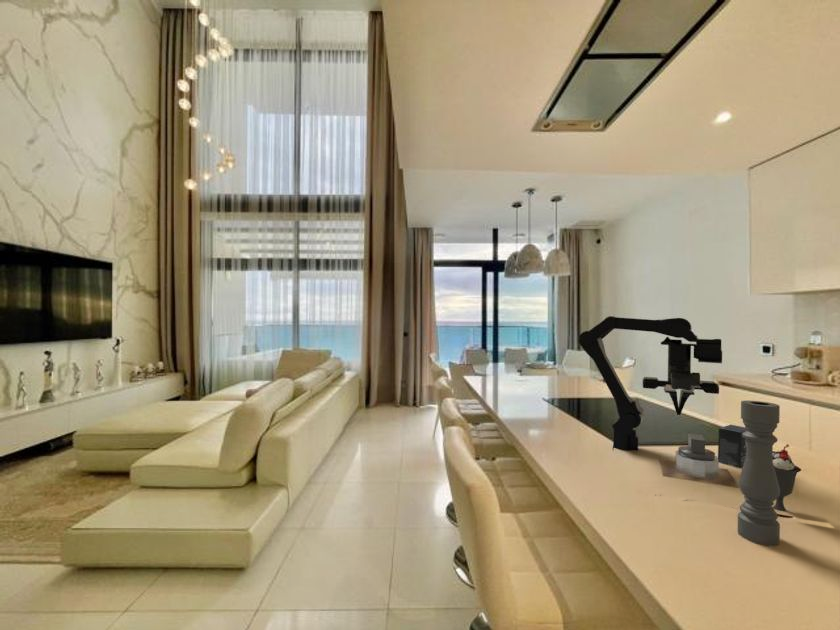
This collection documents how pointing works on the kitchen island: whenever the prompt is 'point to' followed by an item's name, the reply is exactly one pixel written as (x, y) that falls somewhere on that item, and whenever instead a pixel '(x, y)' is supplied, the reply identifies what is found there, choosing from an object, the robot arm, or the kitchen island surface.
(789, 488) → the sundae
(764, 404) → the candle holder
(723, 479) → the stand
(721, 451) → the box
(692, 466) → the toothed hollow cylinder
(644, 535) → the kitchen island surface
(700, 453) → the lens cap
